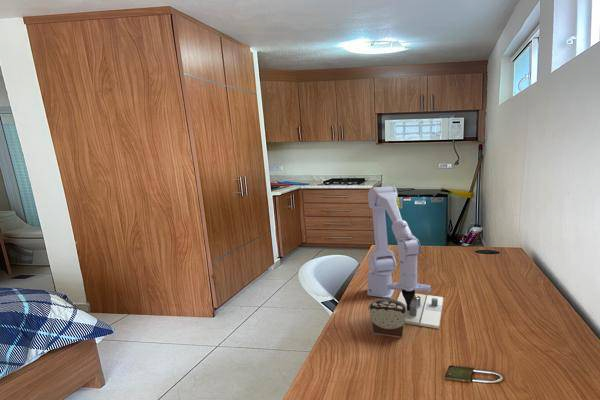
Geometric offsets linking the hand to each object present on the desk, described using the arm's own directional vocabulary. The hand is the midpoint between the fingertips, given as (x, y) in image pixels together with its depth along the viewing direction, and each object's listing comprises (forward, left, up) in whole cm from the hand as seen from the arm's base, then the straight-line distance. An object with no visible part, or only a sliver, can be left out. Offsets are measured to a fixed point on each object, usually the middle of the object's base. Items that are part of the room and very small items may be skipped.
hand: (408, 309), depth 128 cm
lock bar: (+2, +3, -1) cm, 3 cm away
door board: (+3, +6, -2) cm, 6 cm away
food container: (-4, -13, -2) cm, 14 cm away
